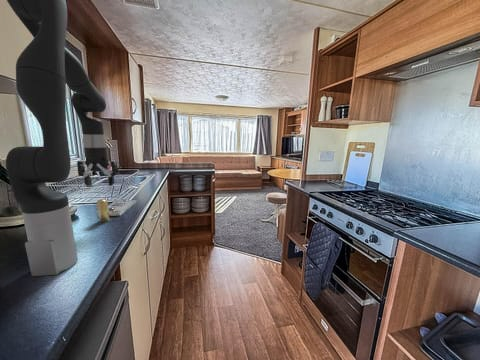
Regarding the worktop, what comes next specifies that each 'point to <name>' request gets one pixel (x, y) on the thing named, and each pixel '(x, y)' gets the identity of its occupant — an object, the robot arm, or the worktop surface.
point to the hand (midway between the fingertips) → (100, 185)
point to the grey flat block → (120, 207)
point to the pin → (103, 210)
